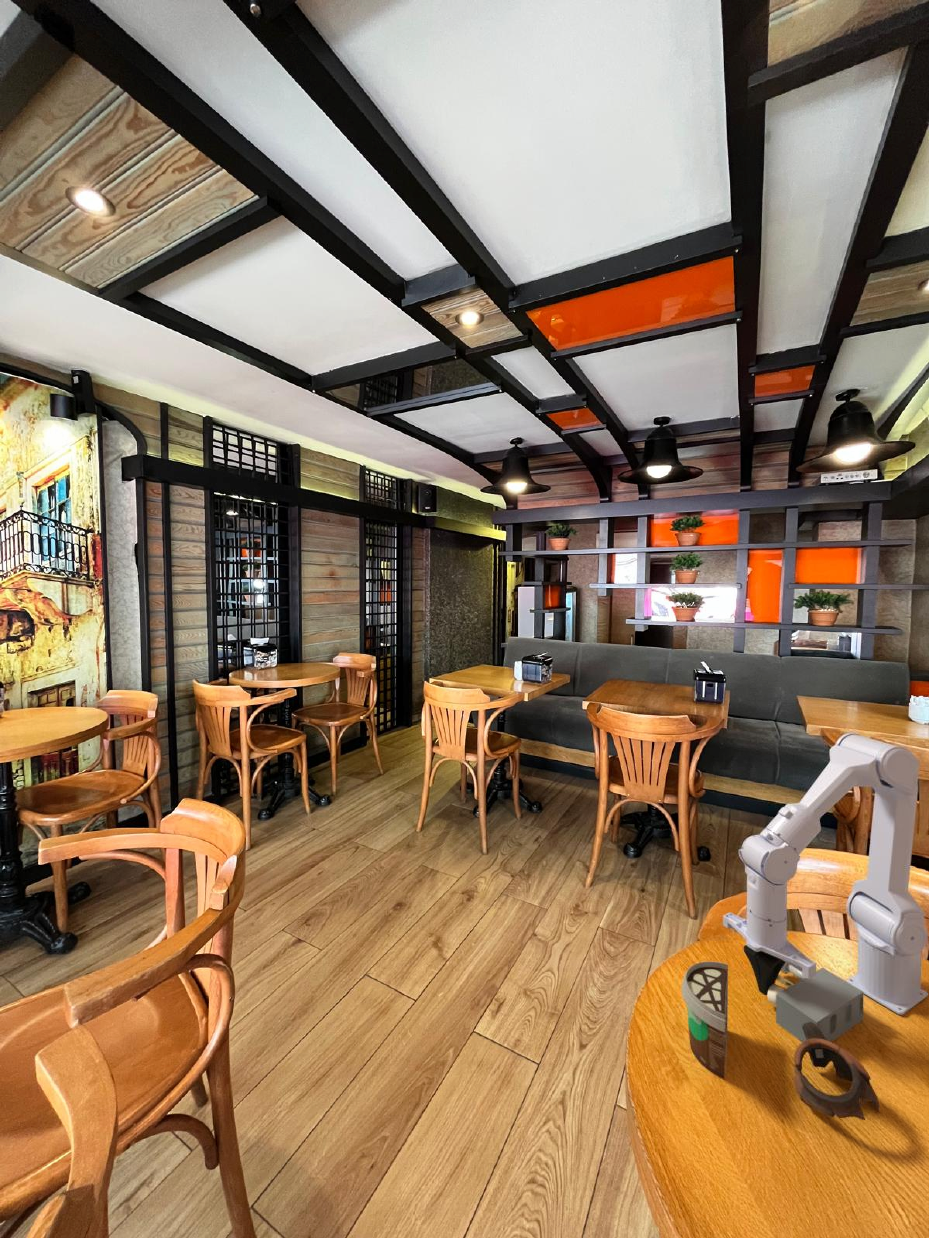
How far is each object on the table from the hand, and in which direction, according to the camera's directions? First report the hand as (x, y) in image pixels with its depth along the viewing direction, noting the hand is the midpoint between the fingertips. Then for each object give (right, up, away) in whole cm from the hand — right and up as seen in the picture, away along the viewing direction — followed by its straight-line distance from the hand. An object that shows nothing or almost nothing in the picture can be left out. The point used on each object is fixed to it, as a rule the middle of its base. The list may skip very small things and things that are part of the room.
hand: (765, 991), depth 83 cm
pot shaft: (+4, 0, +1) cm, 4 cm away
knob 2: (+8, -1, +3) cm, 8 cm away
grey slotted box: (+6, -2, -4) cm, 8 cm away
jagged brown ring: (0, -3, -15) cm, 16 cm away
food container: (-14, -3, -8) cm, 16 cm away
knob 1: (+2, -1, -4) cm, 5 cm away
